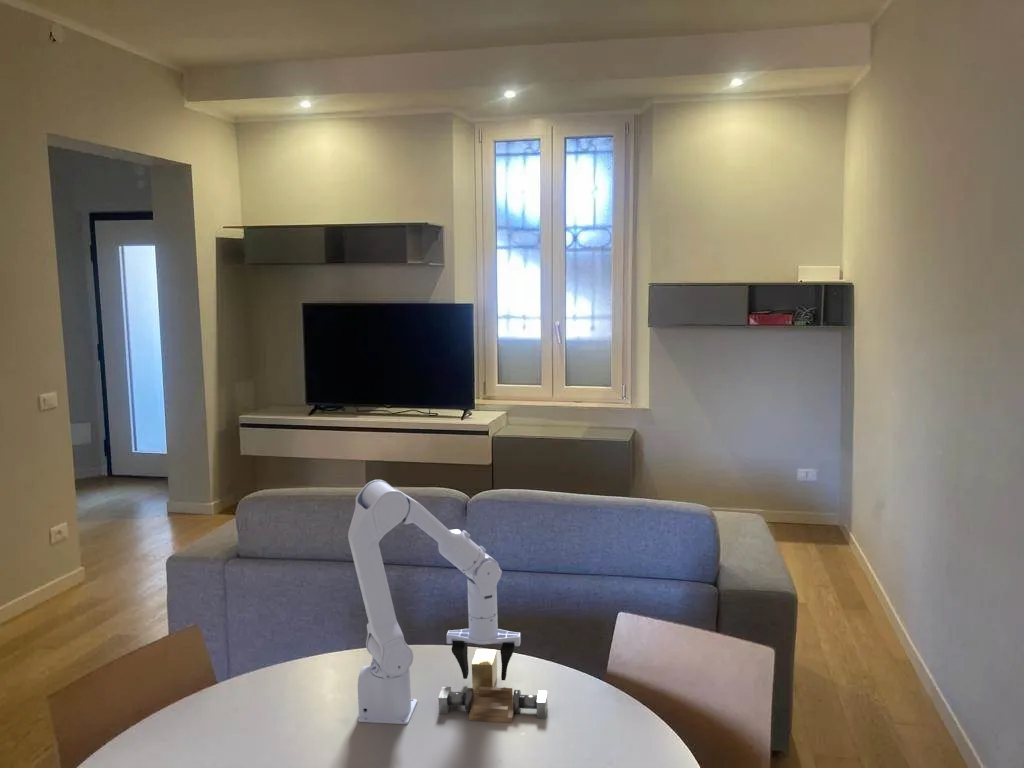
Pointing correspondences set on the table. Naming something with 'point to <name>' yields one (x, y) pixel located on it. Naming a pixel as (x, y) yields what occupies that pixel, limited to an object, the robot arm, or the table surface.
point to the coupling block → (484, 669)
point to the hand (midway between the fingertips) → (484, 677)
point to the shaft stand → (492, 703)
